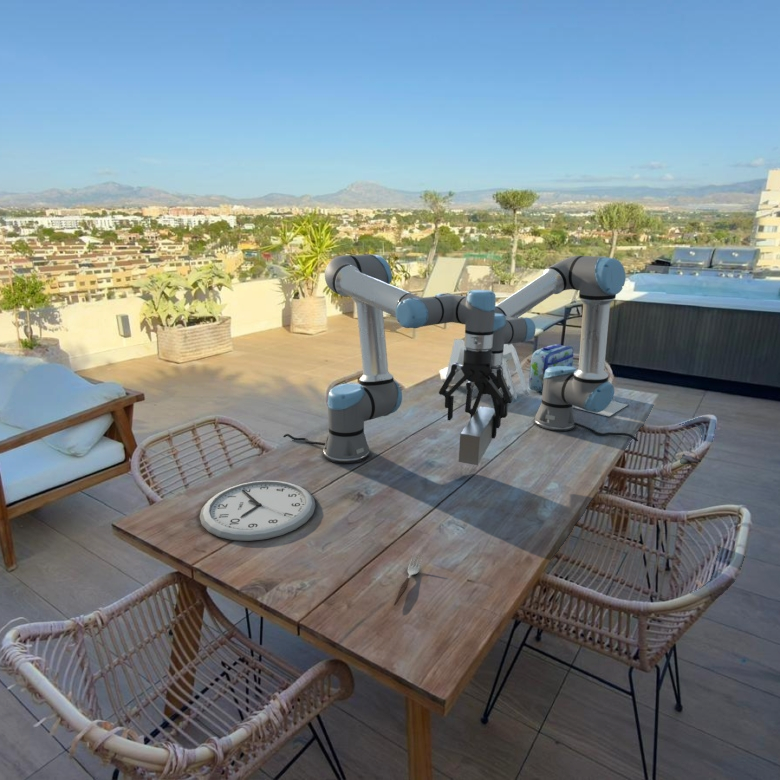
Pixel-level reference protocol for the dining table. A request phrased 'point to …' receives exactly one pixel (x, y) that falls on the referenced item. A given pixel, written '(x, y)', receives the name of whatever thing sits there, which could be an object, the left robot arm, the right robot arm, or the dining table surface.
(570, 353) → the lunch box
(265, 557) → the dining table surface
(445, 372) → the white plastic object
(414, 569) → the fork
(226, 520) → the wall clock
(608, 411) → the invitation card
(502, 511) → the dining table surface
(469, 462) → the bar
